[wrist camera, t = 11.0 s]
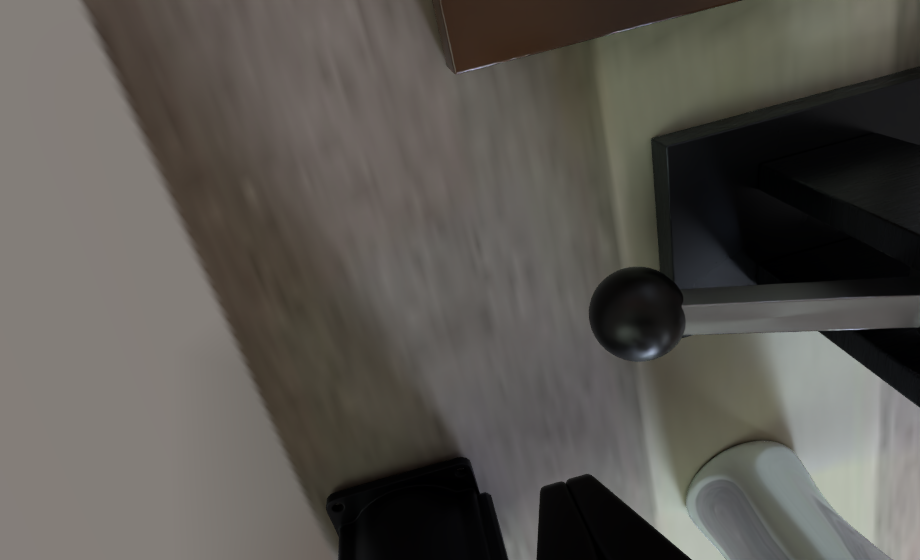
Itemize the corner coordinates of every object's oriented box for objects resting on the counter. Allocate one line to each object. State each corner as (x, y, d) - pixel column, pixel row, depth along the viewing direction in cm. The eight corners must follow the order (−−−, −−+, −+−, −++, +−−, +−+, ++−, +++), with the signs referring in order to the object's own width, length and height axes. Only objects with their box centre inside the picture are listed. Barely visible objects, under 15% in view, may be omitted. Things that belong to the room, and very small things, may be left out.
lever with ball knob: (597, 327, 21) (591, 381, 19) (587, 253, 20) (580, 302, 17) (1010, 312, 17) (1071, 377, 15) (1033, 219, 16) (1105, 275, 14)
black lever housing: (663, 324, 25) (829, 509, 16) (650, 138, 21) (858, 247, 12) (910, 255, 25) (1203, 398, 16) (941, 60, 21) (1339, 112, 13)
